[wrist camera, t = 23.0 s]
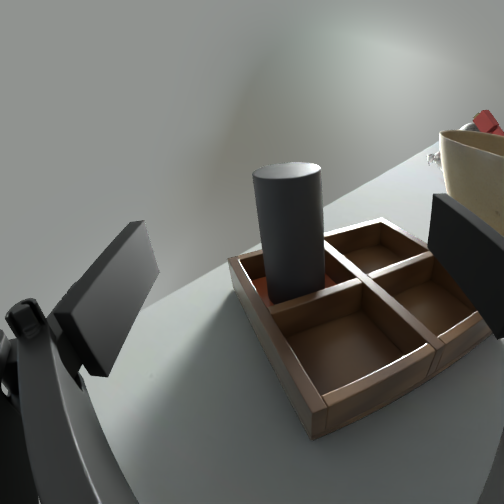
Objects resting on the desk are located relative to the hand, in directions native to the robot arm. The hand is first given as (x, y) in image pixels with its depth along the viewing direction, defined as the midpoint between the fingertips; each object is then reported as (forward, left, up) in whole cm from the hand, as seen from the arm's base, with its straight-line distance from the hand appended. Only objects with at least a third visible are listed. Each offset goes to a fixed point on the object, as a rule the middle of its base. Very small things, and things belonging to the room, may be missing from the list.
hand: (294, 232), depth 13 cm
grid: (+7, +4, -10) cm, 13 cm away
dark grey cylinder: (+3, +8, -9) cm, 13 cm away
